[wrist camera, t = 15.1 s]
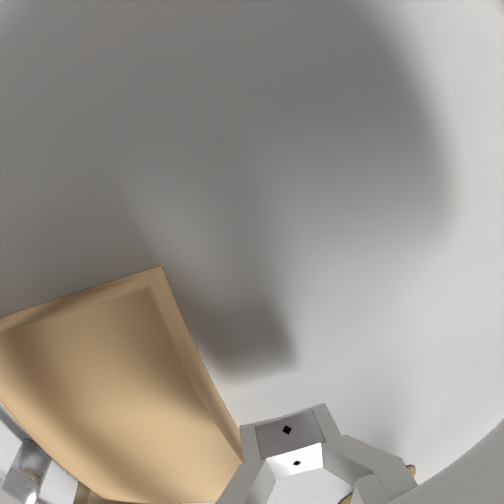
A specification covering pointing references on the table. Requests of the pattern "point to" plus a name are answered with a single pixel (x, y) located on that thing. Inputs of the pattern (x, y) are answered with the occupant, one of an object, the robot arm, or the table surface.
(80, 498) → the socket block
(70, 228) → the table surface
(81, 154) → the table surface
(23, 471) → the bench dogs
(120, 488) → the curved tan panel
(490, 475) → the robot arm
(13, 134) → the table surface
